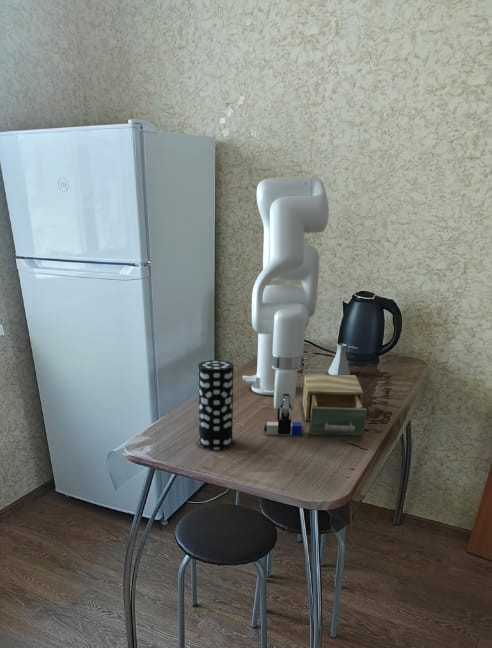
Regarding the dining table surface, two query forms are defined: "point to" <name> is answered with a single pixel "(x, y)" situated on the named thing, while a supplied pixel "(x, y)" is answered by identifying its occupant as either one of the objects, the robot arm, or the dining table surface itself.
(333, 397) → the drawer
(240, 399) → the dining table surface
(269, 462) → the dining table surface
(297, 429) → the white and blue block
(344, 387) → the cabinet
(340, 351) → the flask
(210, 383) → the white-spotted black cylinder
